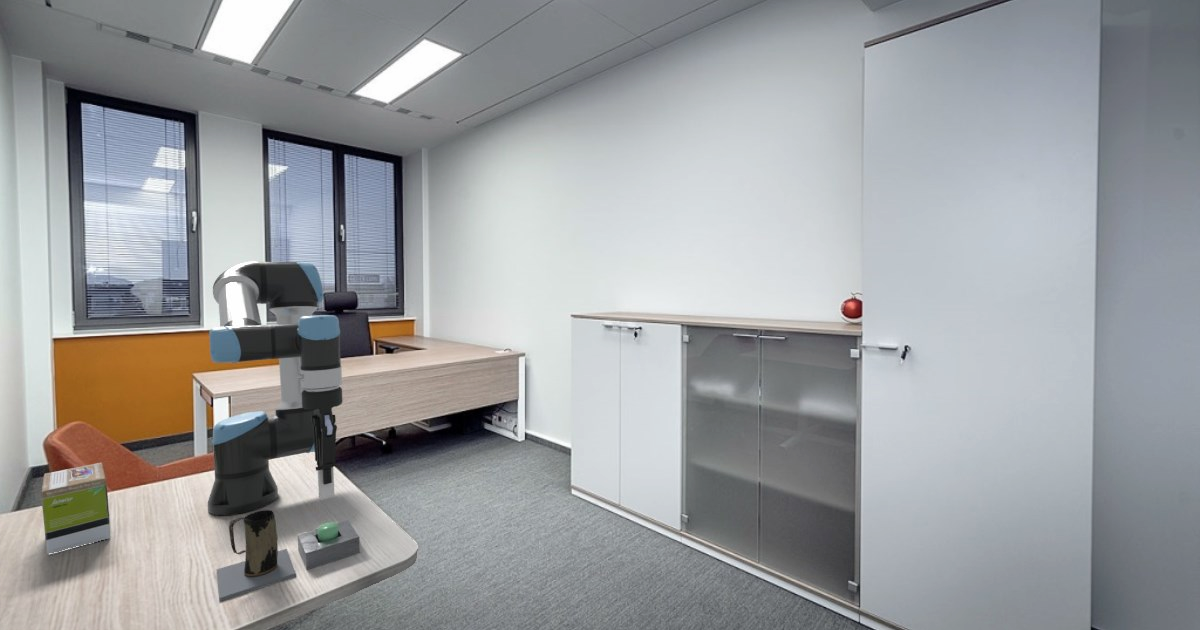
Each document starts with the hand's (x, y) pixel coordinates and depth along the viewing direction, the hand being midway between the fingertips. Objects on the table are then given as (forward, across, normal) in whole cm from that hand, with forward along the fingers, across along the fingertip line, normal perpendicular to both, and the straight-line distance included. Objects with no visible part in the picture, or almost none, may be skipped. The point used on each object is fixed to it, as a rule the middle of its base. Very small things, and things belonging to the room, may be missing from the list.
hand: (326, 496), depth 105 cm
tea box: (+12, -46, -43) cm, 64 cm away
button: (+10, 0, 0) cm, 10 cm away
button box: (+12, 0, 0) cm, 12 cm away
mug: (+12, 0, -13) cm, 18 cm away
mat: (+12, 0, -13) cm, 18 cm away
